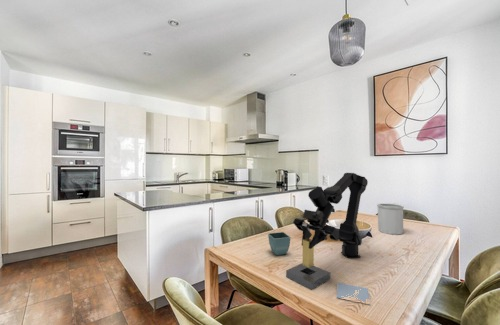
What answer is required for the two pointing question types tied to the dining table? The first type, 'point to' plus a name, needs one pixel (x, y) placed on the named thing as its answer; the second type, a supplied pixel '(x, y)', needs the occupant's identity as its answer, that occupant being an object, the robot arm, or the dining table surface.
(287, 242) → the flower pot
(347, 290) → the rubber mat
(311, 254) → the brass peg
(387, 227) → the utensil holder
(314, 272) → the socket plate
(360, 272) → the dining table surface
